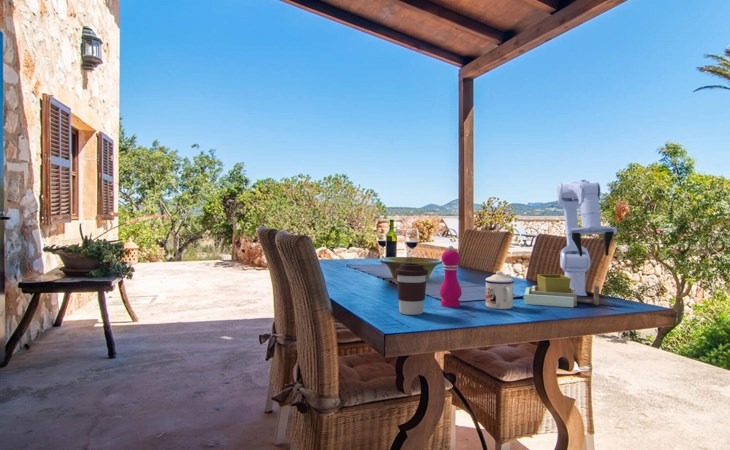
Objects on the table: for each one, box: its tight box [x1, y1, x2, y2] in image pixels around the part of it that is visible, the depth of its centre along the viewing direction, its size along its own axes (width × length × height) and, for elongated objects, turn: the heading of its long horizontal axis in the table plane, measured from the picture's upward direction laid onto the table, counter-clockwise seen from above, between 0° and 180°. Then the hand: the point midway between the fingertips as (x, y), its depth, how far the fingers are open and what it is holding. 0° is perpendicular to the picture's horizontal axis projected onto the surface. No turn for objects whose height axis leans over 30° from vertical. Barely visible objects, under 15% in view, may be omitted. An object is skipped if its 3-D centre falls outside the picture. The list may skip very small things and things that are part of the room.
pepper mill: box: [439, 245, 462, 308], centre depth 151 cm, size 7×7×20 cm
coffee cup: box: [394, 262, 429, 316], centre depth 139 cm, size 10×10×15 cm
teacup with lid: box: [484, 270, 515, 310], centre depth 148 cm, size 12×9×12 cm
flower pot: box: [536, 273, 571, 293], centre depth 159 cm, size 9×9×9 cm
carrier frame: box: [531, 284, 600, 307], centre depth 157 cm, size 14×21×6 cm, turn 69°
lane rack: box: [523, 286, 575, 308], centre depth 159 cm, size 17×15×3 cm
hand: (593, 255), depth 149 cm, fingers open, 7 cm apart
